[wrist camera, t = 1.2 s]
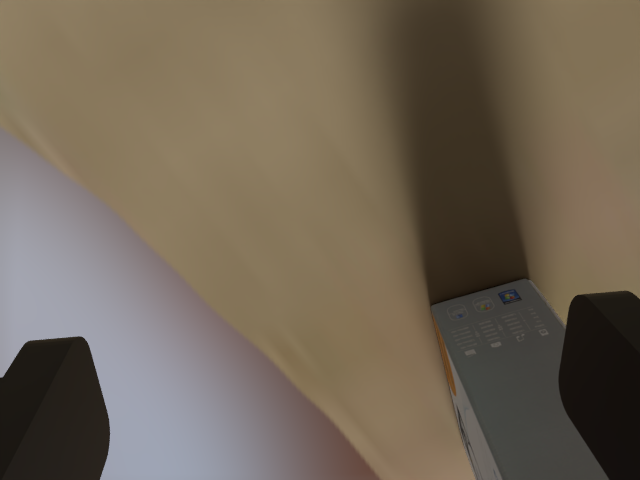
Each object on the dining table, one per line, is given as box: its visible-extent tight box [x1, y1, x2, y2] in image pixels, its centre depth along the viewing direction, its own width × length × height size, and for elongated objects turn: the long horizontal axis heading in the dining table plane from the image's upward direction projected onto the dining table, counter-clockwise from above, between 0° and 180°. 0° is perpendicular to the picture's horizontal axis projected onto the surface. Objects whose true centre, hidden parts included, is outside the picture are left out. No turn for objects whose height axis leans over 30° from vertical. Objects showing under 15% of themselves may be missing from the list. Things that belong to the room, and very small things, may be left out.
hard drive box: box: [431, 279, 609, 480], centre depth 37 cm, size 16×8×20 cm, turn 16°
